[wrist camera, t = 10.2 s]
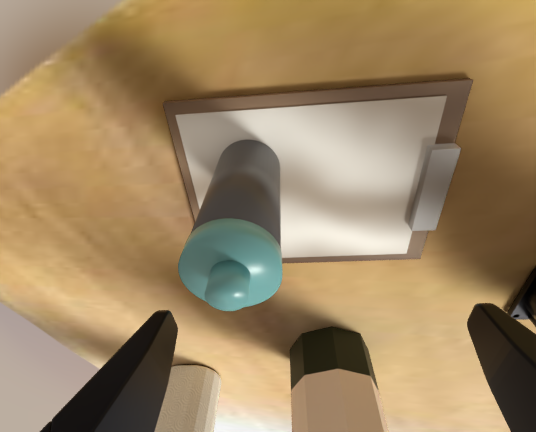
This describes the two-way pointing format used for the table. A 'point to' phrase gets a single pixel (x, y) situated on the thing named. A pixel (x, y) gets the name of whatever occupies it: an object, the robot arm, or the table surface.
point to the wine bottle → (334, 384)
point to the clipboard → (337, 161)
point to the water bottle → (237, 231)
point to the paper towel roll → (190, 400)
